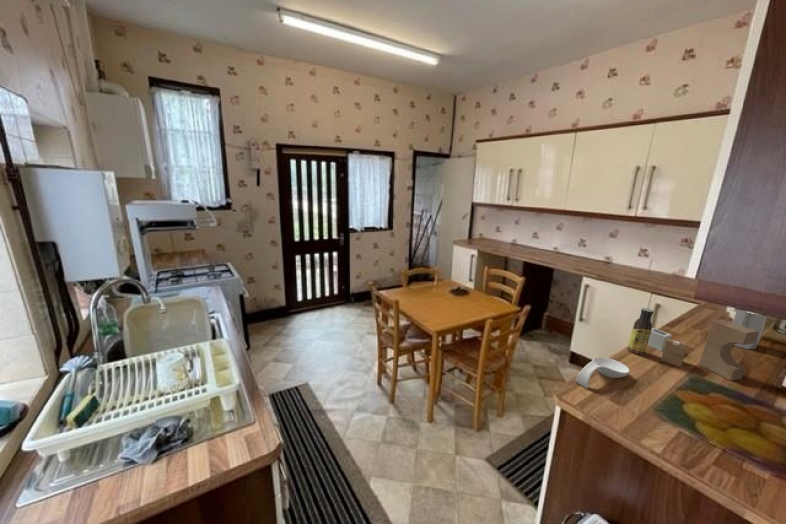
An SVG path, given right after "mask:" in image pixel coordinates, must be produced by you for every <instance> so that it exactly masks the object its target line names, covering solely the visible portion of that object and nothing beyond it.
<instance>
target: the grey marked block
mask: <svg viewBox="0 0 786 524" xmlns="http://www.w3.org/2000/svg"><path fill="white" fill-rule="evenodd" d="M666 339H671V340H672V334H670V333H669V332H665V331H663V330H660V329H658V328H655V327H652V331H651V334H650V337H649V340H648V345H650V346H649V347H651V346H652V347H651V348H653V347H654V348H653V349H655V348H656V349H655V350H658V351H660V352H663V349H664V346H665V342H666ZM648 345H647V346H648Z"/></svg>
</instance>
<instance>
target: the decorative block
mask: <svg viewBox="0 0 786 524" xmlns="http://www.w3.org/2000/svg"><path fill="white" fill-rule="evenodd" d="M757 335H758V332H757V331H754V330H752V329H749V328H746V327H743V326H740V325H738V324H735V323H733V321H729V320H726V319H725V318H724V319H723V318H721V319H715V320H711V324H710V328H709V331H708V334H707V337H706V341H705V343H704V346H703V349H702V353H701V356H700V359H699V362H698V364H699V366H700V367H702V368H704V369H706V370H708V371H711V372H713V373H714V374H716V375H719V376H720V377H722V378H724V379H726V380H728V381H731V382H733V381H738V380H742V379H743V377H744V374H745V372H746V369H745V367H743V366H741V365H740V364H739V363H737V361H736V360H735V359H734V357H733V355H732V348H733V346H735V345H734V344H737V343H738V344H742V345H747V344H754V343H755V341H756V338H757Z"/></svg>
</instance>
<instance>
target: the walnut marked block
mask: <svg viewBox="0 0 786 524" xmlns="http://www.w3.org/2000/svg"><path fill="white" fill-rule="evenodd" d="M686 352H687V345H686V342H682V341H678V340H673V339H672V338H671V339H666V342H665V346H664V349H663V351H662V354H661V362H664V363H666V364H670V365H674V366H678V367H679V368H680V367H682V364H683V361H684V357H685V354H686Z"/></svg>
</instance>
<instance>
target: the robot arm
mask: <svg viewBox="0 0 786 524" xmlns="http://www.w3.org/2000/svg"><path fill="white" fill-rule="evenodd" d="M767 319H768V317H767V318H766V317H763V316H760V315H756V314H751V313H747V312H742V311H737V310H736V311H735V314H734V318H733V321H732V323H735V324H738V325H740V326H743V327H746V328H749V329H752V330H754V331H757V332H758V335H757V338H756V341H755V343H754V344H747V345H742V344H738V343H737V344H734V345H733V346H736V347H737V348H742V349H746V350H755V349H757V346H758V344H759V341H760V338H761V335H762V334H763V330H764V328H765V324H766V322H767Z"/></svg>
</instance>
